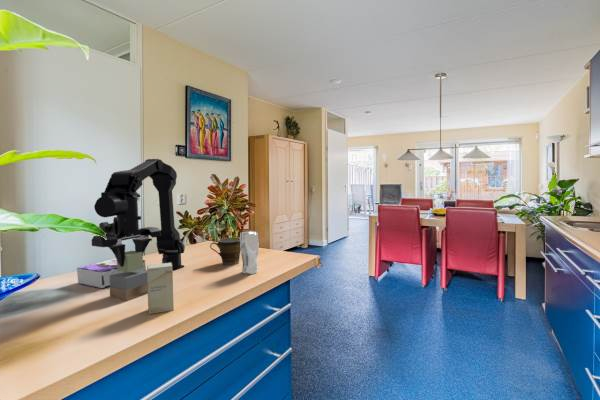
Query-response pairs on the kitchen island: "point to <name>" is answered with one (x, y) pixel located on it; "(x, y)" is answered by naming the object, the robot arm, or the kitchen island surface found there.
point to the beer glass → (249, 251)
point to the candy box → (99, 273)
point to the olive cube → (131, 261)
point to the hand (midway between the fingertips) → (130, 264)
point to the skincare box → (160, 288)
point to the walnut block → (128, 292)
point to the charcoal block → (128, 279)
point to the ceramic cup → (229, 250)
